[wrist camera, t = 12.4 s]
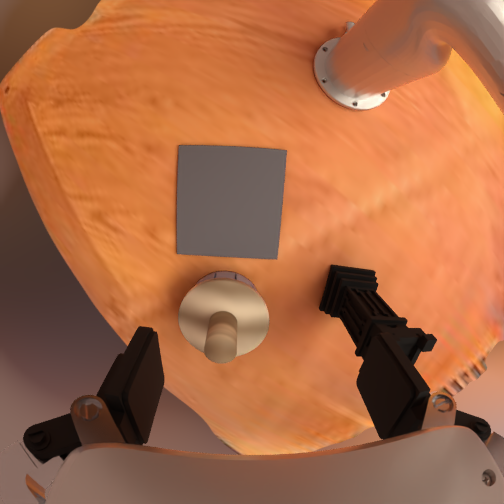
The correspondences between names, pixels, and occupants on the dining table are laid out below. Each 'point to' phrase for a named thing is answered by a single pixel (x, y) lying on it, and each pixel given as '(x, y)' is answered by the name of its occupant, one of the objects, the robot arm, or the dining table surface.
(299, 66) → the dining table surface
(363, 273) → the chess piece
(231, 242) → the rubber mat
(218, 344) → the lid
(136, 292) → the dining table surface
